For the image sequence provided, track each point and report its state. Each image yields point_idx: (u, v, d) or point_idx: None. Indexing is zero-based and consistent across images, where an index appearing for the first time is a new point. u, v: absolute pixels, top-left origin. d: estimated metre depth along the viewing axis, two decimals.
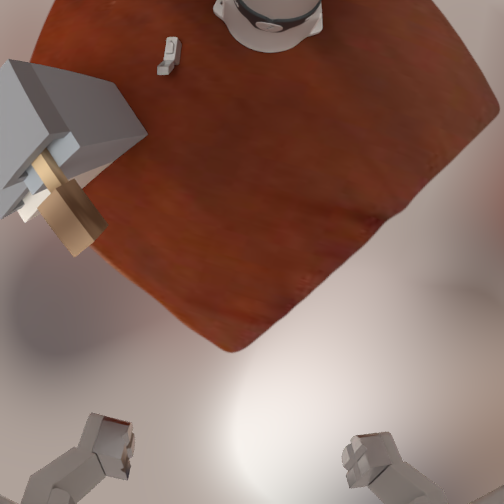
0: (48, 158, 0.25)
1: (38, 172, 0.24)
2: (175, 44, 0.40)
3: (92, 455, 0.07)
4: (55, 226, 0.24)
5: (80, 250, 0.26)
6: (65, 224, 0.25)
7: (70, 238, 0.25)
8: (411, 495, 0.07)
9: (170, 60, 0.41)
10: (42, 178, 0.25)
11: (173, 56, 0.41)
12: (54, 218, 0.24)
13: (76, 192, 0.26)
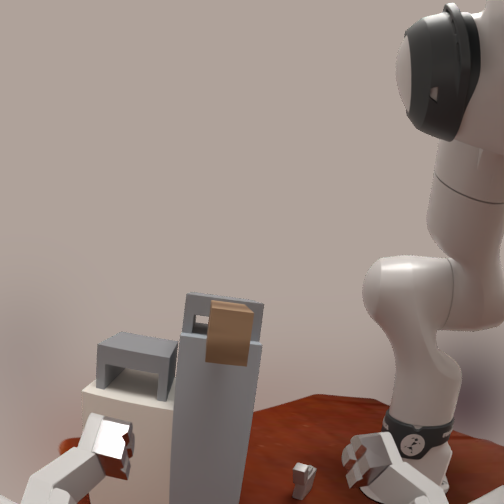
0: None
1: None
2: (313, 471, 0.38)
3: (92, 455, 0.07)
4: (217, 303, 0.25)
5: (227, 309, 0.22)
6: (231, 306, 0.25)
7: (226, 307, 0.23)
8: (411, 495, 0.07)
9: None
10: None
11: (307, 477, 0.37)
12: (223, 303, 0.26)
13: None
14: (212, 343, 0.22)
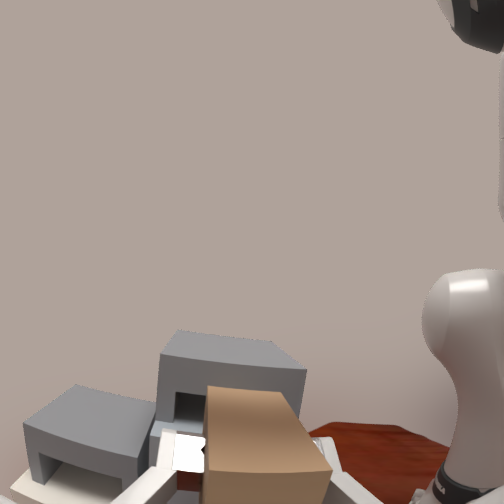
0: None
1: None
2: None
3: (173, 472, 0.07)
4: (223, 413, 0.09)
5: (256, 469, 0.06)
6: (259, 422, 0.09)
7: (248, 440, 0.07)
8: None
9: None
10: None
11: None
12: (236, 407, 0.10)
13: None
14: None
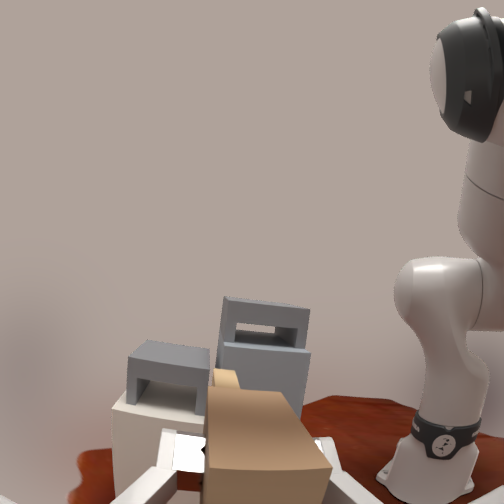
0: None
1: None
2: None
3: (173, 472, 0.07)
4: (223, 412, 0.09)
5: (256, 467, 0.06)
6: (259, 421, 0.09)
7: (248, 439, 0.08)
8: None
9: None
10: None
11: None
12: (236, 406, 0.10)
13: None
14: None
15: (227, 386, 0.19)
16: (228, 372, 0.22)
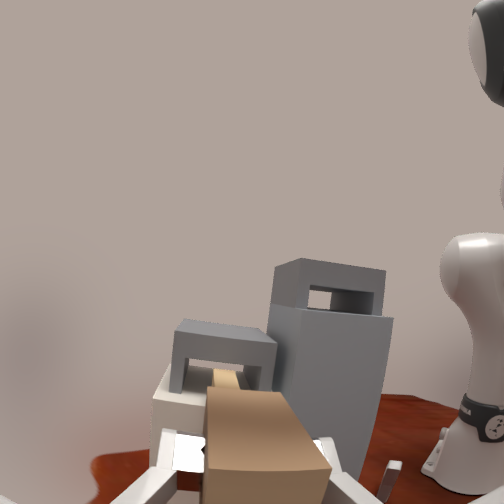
0: None
1: None
2: None
3: (173, 472, 0.07)
4: (223, 413, 0.09)
5: (256, 467, 0.06)
6: (258, 421, 0.09)
7: (247, 440, 0.08)
8: None
9: None
10: None
11: None
12: (235, 407, 0.10)
13: None
14: None
15: (227, 386, 0.19)
16: (228, 373, 0.22)
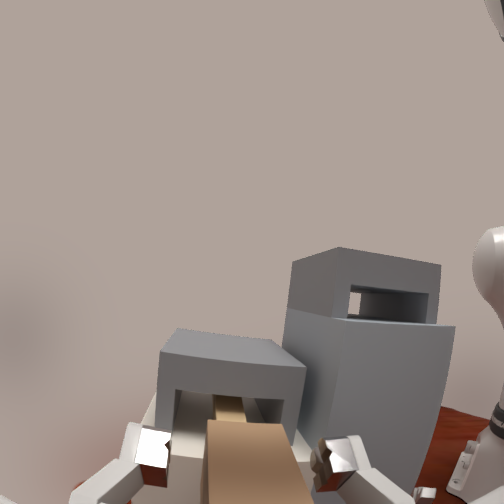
0: None
1: None
2: None
3: (135, 466, 0.07)
4: (223, 460, 0.09)
5: None
6: (258, 471, 0.08)
7: (248, 498, 0.07)
8: (379, 503, 0.07)
9: None
10: None
11: None
12: (236, 450, 0.09)
13: None
14: None
15: None
16: None
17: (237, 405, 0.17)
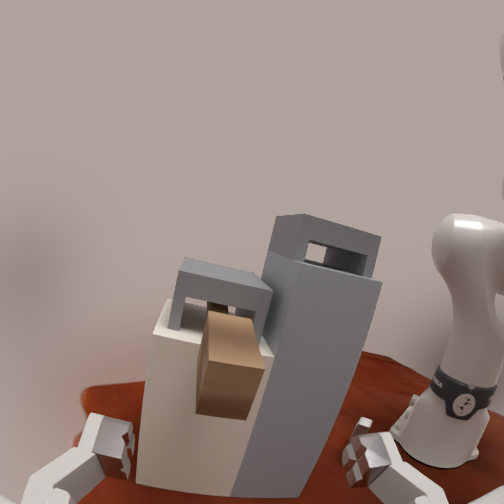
0: None
1: None
2: None
3: (92, 455, 0.07)
4: (216, 330, 0.19)
5: (229, 362, 0.16)
6: (235, 337, 0.18)
7: (228, 347, 0.17)
8: (411, 494, 0.07)
9: None
10: None
11: None
12: (223, 326, 0.19)
13: None
14: (206, 397, 0.16)
15: (219, 304, 0.29)
16: None
17: (224, 312, 0.27)
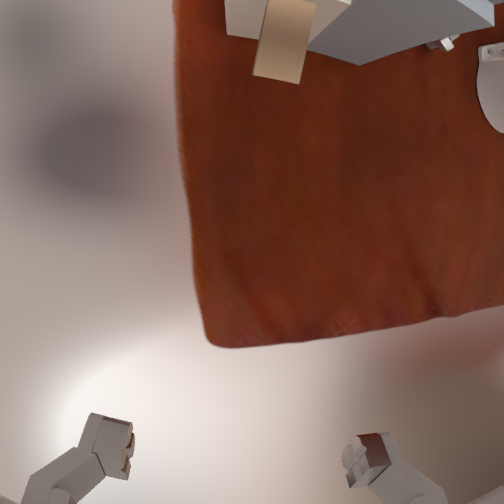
0: None
1: None
2: (454, 37, 0.29)
3: (92, 455, 0.07)
4: (271, 28, 0.16)
5: (270, 76, 0.18)
6: (286, 38, 0.16)
7: (274, 55, 0.17)
8: (411, 495, 0.07)
9: None
10: None
11: None
12: (280, 21, 0.16)
13: None
14: None
15: None
16: None
17: None
